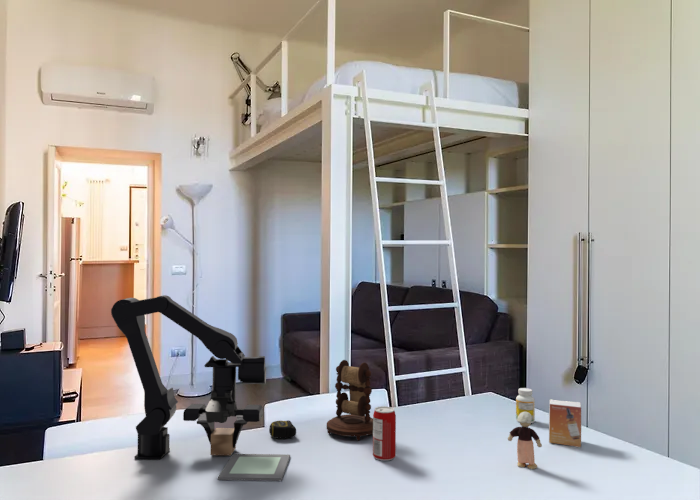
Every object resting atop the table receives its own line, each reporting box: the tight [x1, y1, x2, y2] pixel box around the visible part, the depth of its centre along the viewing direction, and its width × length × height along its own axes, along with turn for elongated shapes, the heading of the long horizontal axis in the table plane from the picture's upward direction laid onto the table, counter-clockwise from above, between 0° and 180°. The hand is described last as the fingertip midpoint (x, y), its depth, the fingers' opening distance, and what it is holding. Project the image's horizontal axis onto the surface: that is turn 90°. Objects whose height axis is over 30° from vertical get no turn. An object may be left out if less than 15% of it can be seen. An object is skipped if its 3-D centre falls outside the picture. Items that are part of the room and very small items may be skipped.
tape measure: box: [268, 420, 297, 440], centre depth 144 cm, size 7×7×4 cm
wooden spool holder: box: [326, 359, 373, 442], centre depth 147 cm, size 15×15×20 cm
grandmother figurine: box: [507, 412, 543, 470], centre depth 125 cm, size 8×4×13 cm, turn 71°
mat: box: [217, 453, 291, 482], centre depth 122 cm, size 14×14×1 cm
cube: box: [210, 427, 237, 456], centre depth 131 cm, size 5×5×5 cm
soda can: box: [372, 406, 397, 462], centre depth 129 cm, size 6×6×12 cm
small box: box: [548, 399, 582, 448], centre depth 141 cm, size 8×6×10 cm
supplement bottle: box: [515, 387, 536, 424], centre depth 159 cm, size 5×5×10 cm
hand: (223, 447), depth 131 cm, fingers closed on cube, 5 cm apart
